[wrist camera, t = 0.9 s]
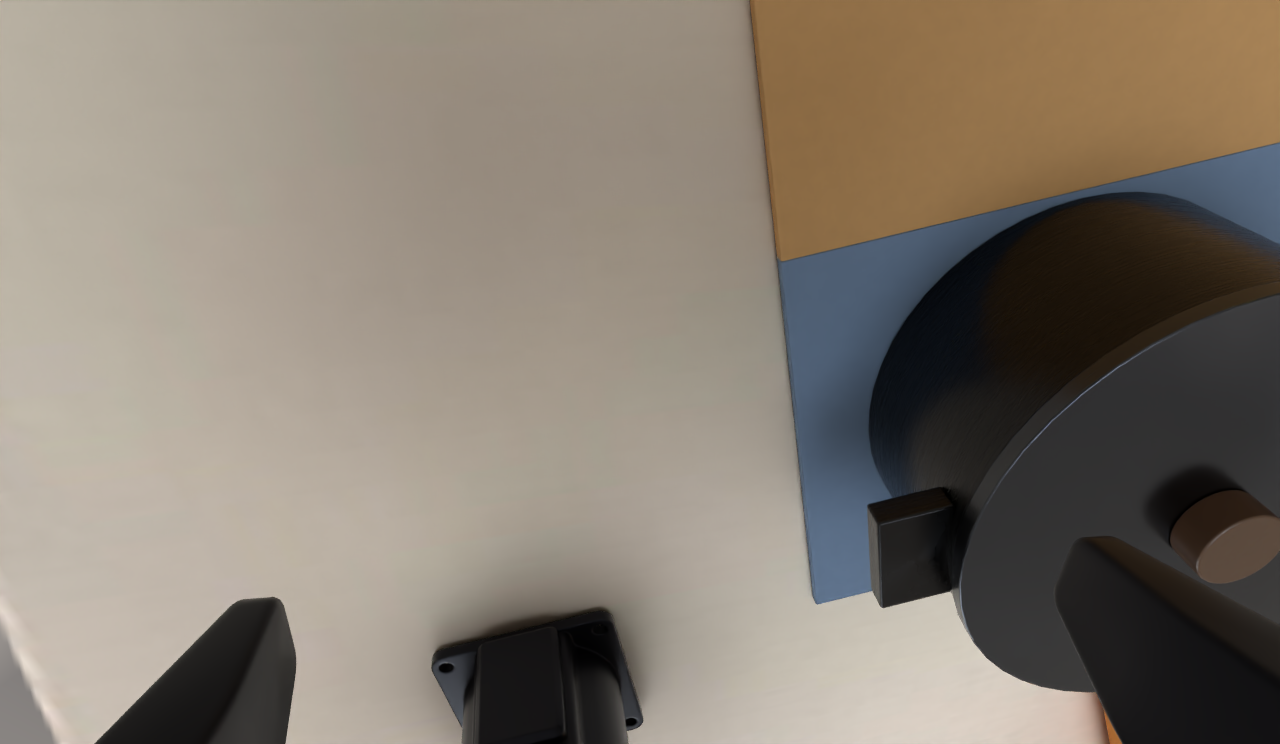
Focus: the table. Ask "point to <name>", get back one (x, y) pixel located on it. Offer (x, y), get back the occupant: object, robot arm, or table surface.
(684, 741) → the table surface
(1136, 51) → the desk mat
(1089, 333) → the pot
